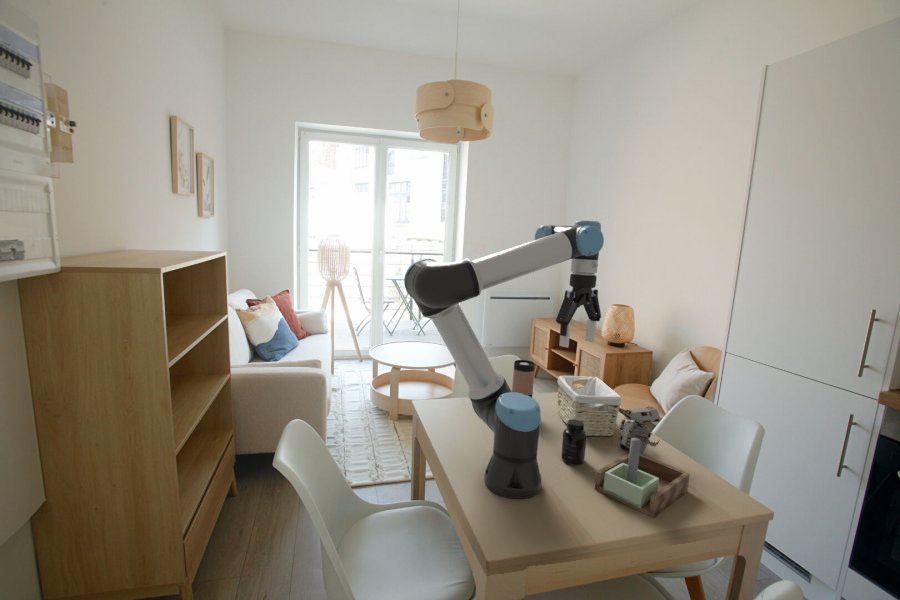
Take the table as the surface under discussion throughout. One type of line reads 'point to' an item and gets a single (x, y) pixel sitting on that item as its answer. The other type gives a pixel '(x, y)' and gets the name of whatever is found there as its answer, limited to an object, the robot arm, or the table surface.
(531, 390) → the travel mug
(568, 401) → the storage basket
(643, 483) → the green box with handle
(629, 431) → the figurine
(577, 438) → the supplement bottle
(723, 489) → the table surface
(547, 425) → the table surface
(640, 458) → the bay
